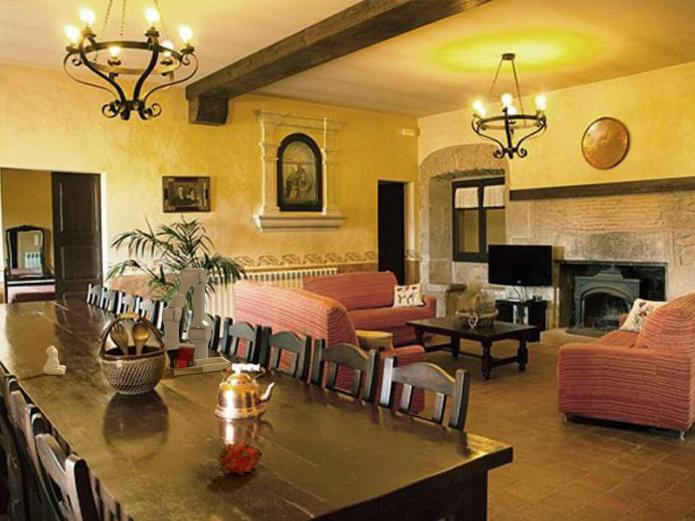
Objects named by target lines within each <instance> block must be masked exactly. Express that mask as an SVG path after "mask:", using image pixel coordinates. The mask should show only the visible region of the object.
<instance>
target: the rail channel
mask: <svg viewBox="0 0 695 521" xmlns="http://www.w3.org/2000/svg"><path fill="white" fill-rule="evenodd" d="M167 370H168V371H173V376H175V377H177V376H182V375H183V376H184V375H192V374H200V373H201V374H202V373H204V372H203V366H197V367H196V361H194V362H193V367H188V368H180V369H174V368H171V367H170V363H167ZM176 375H177V376H176Z"/></svg>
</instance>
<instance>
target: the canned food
mask: <svg viewBox="0 0 695 521" xmlns="http://www.w3.org/2000/svg"><path fill="white" fill-rule="evenodd" d="M187 344H188V345H189V346H181V345H187ZM179 346H180V348H178V349H177V351H178V353H177V355H176V358H175V360H174V369H180V368H188V367H193V362H194V354H195V345H193V344H192V343H183V342H180V343H179Z"/></svg>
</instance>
